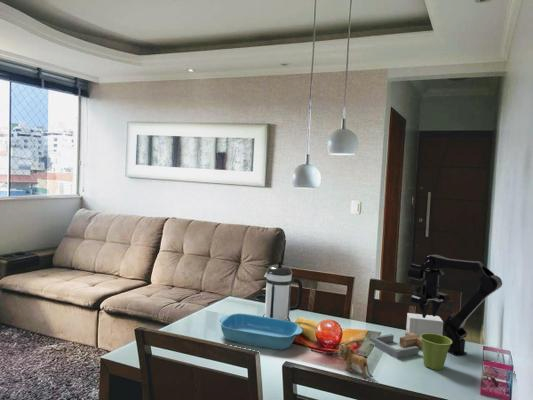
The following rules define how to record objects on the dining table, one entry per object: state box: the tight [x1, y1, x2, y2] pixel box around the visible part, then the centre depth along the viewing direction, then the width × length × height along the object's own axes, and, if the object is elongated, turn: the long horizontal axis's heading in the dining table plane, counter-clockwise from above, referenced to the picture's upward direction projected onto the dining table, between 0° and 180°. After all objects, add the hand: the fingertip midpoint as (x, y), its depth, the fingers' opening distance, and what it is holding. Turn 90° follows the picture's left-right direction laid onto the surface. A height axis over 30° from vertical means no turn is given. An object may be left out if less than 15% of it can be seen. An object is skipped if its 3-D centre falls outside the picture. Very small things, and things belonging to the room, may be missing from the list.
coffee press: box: [262, 260, 303, 321], centre depth 214 cm, size 17×16×30 cm
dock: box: [368, 333, 419, 360], centre depth 186 cm, size 17×12×3 cm
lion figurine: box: [337, 343, 374, 379], centre depth 162 cm, size 15×5×9 cm, turn 50°
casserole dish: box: [218, 312, 304, 350], centre depth 189 cm, size 37×22×7 cm, turn 74°
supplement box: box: [405, 312, 444, 336], centre depth 205 cm, size 9×9×15 cm
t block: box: [399, 332, 423, 351], centre depth 191 cm, size 10×10×4 cm
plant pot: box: [420, 333, 452, 371], centre depth 171 cm, size 12×12×11 cm
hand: (428, 317), depth 195 cm, fingers open, 6 cm apart
